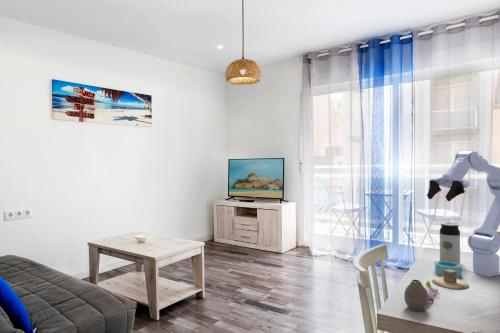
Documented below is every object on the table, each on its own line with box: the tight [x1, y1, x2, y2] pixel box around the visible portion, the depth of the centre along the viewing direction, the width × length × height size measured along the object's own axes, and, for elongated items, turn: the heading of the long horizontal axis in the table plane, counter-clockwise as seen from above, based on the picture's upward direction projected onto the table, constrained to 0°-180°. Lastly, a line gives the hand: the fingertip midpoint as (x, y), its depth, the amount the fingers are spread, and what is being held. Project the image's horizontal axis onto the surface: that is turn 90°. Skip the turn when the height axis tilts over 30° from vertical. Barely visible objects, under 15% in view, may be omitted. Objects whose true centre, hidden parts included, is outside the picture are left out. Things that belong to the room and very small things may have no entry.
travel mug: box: [439, 221, 461, 265], centre depth 156 cm, size 8×8×18 cm
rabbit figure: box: [424, 280, 440, 300], centre depth 115 cm, size 6×6×15 cm
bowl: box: [434, 260, 463, 278], centre depth 139 cm, size 9×9×4 cm
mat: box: [431, 279, 470, 291], centre depth 127 cm, size 12×12×1 cm
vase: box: [403, 279, 430, 312], centre depth 107 cm, size 7×7×9 cm
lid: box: [432, 269, 469, 290], centre depth 127 cm, size 11×11×5 cm
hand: (437, 198), depth 129 cm, fingers open, 7 cm apart
